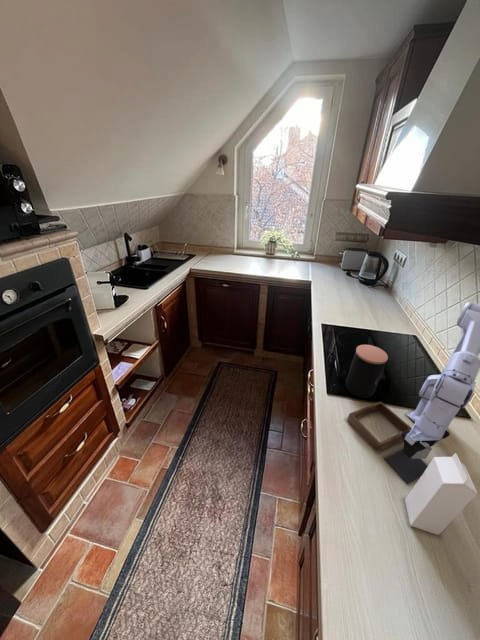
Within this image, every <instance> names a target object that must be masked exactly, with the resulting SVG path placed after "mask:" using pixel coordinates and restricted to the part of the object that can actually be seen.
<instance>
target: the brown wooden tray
mask: <svg viewBox="0 0 480 640" xmlns="http://www.w3.org/2000/svg"><path fill="white" fill-rule="evenodd" d="M377 411H378V412H379V413H381V414H382V415H383V416H384V418H386V420H388V421H389V422H390V423H391V424H393V426H394V427H396V428H397V429H398V430H399V431H400V432H398V433H396V434H395V435H392V436H390V437H388V438H386V439H384V440H382V441H379V440H378V438H377V437H376V436H375V435H374V434H372V432H370V430H369V429H368V428H367V427H365V425H364V424H363V423H362V422H361V421H360V420H359V418H362V417H365V416H367V415H369V414H372V413H374V412H377ZM346 421H347V422H348V423H349V424H350V426H352V427H353V428H354V430H355V431H356V432H357V433H358V434H359V435H360V436H361V437H362V438H363V439H364V441H366V442H367V443H368V445H369V446H370V447H371V448H372V449H373V450H374V451H375V452H376V453H377V452H380V451H382V450H385V449H388V447H391V446H393V445H395V444H397V443H399V442H401V441H403V438H402V435H401V434H402V432H403V431H404V430H407V429H408V430H409V431H411V430H412V428H413V427H411V426H410V425H409V424H408V423H407V422H405V421H404V420H403V419H402V418H400V416H398V415H397V414H396V413H395V412H394V411H392V410H391V409H390V408H389V407H388V406H387V405H386V404H385V403H383V402H382V401H377V402H375V403H373V404H370V405H367V406H365V407H362V408H360V409H357V410H354V411H351V412H350V413H349V414H348V416H347V419H346Z"/></svg>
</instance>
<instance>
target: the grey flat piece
mask: <svg viewBox="0 0 480 640" xmlns="http://www.w3.org/2000/svg"><path fill="white" fill-rule="evenodd" d="M420 443H421V442H420ZM421 444H422V445H424V446H425V447H426V449H424V450H422V451H418V452H417V453H416V454H415V455H414V456H413V457H411V458H412V459H421V460H423V459H427V458H428V456H429V454H430V453H431V451H432V450H433V448H432V446H431V447H430V445H429V444H428V443H426V442H424V443H421Z"/></svg>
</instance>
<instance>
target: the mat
mask: <svg viewBox="0 0 480 640" xmlns="http://www.w3.org/2000/svg"><path fill="white" fill-rule="evenodd" d="M383 459H384V461H385V462H386V463H387V464H388V465H389V466H390V467H391V468H392V469H393V471H394V472H395V473H396V474H397V475H398V476H399V477H400V478H401V479H402V480H403V481H404V482H405V483H406V484H407V485H408V484H410V483H412V482H414V481H415V480H417V479H419V478H420V477H421V476H422V474H423V473H424V471H425V470H426V468H427V467H428V466H429V465H428V464H426V463H425V462H424V460H423V459H412V458H409V457H408V456H407V455H406V454H405V453H404V452H403V448H402V449H400V450H398V451H396V452H394V453H392V454H391V455H388V456H387V457H384V458H383Z"/></svg>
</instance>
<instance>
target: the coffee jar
mask: <svg viewBox="0 0 480 640" xmlns="http://www.w3.org/2000/svg"><path fill="white" fill-rule="evenodd" d="M388 359H389V355H388V354H387V352H386V351H385V350H383V349H381V348H380V347H378V346H375V345H372V344H360V345H357V346H356V349H355V352H354V354H353V358H352V360H351V364H350V367H349V370H348V374H347V376H346V380H345V387H346V389H347V391H348V392H349V393H350V394H351V395H353V396H355V397H356V398H360V399H368V398H371V397H373V396H374V394H375V392H376V390H377V387H378V386H379V385H378V384H379V382H380V379H381V378H382V376H383V373H384V371H385V367H386V363H387V361H388Z"/></svg>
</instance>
